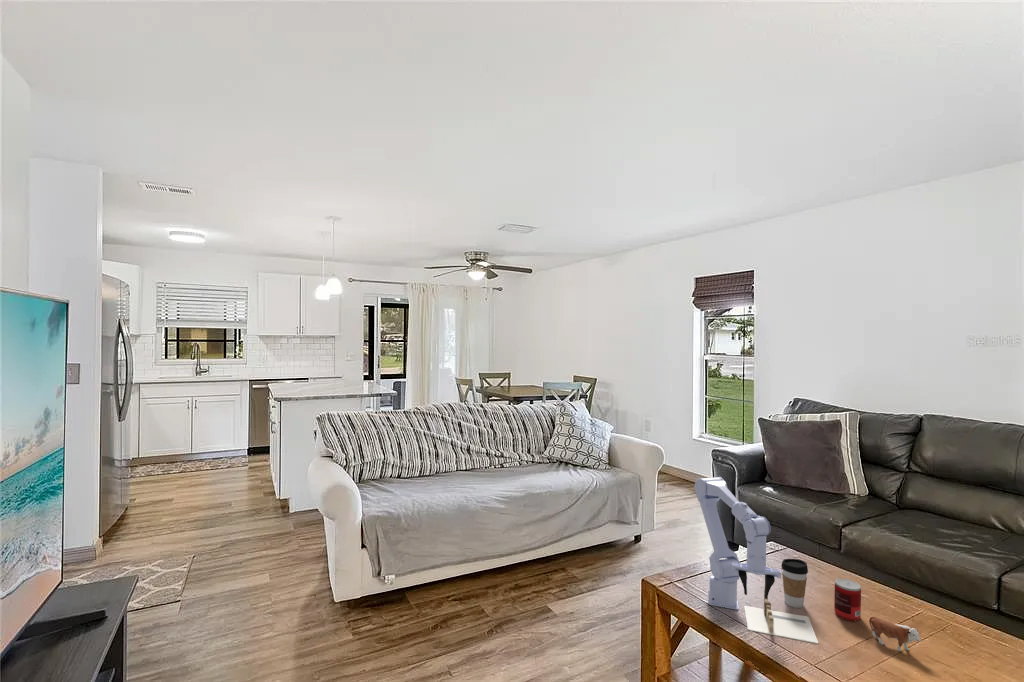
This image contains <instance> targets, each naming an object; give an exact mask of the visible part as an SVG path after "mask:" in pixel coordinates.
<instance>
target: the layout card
mask: <svg viewBox="0 0 1024 682" xmlns="http://www.w3.org/2000/svg"><path fill="white" fill-rule="evenodd" d="M743 608H744V615H745V621H746V626H747V627H746V628H747V631H749V632H750V631H751V632H756V633H761V634H766V635H771V636H776V637H781V638H786V639H792V640H795V641H802V642H807V643H812V644H817V645H818V644H819V641H818V638H817V636H816V634H815V631H814V629H813V626H812V623H811V620H810V618H809V616H805V615H799V614H794V613H788V612H787V613H786V612H783V611H777V610H771V611H772V617H773V619H774V628H773V632H770V630H769V625H768V621H767V617H766V616H765V615H764V608H762V607H761V608H760V607H755V606H748V605H744V606H743Z"/></svg>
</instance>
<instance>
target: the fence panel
mask: <svg viewBox="0 0 1024 682" xmlns="http://www.w3.org/2000/svg"><path fill="white" fill-rule="evenodd" d="M772 611H773V610H772ZM772 611H771V610H770V605H767V606H766V617H767V621H768V625H769V630H770V632H773V628H774V619H773V617H772Z"/></svg>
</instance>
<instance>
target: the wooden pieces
mask: <svg viewBox="0 0 1024 682" xmlns="http://www.w3.org/2000/svg"><path fill="white" fill-rule="evenodd" d="M767 605H770V610H771V609H772V608H771V607H772V604H771V602H770V601H769V597H768V598H767V599H766V598H765V596H764V595H763V609H764V615H765V616H766V606H767Z"/></svg>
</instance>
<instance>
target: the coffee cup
mask: <svg viewBox="0 0 1024 682" xmlns="http://www.w3.org/2000/svg"><path fill="white" fill-rule="evenodd" d="M780 567H781V569H782V572H781V576H782V585H783V596H784V597H783V599H784V603H785V605H788V606H790V607H792V608H799V609H801V608H803V607H804V604H805V594H806V588H807V587H806V586H807V580H808V578H807V574H808V573H809V569H808V568H809V567H808V562H806V561H804V560H802V559H797V558H785V559H782V561H781V566H780Z"/></svg>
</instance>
